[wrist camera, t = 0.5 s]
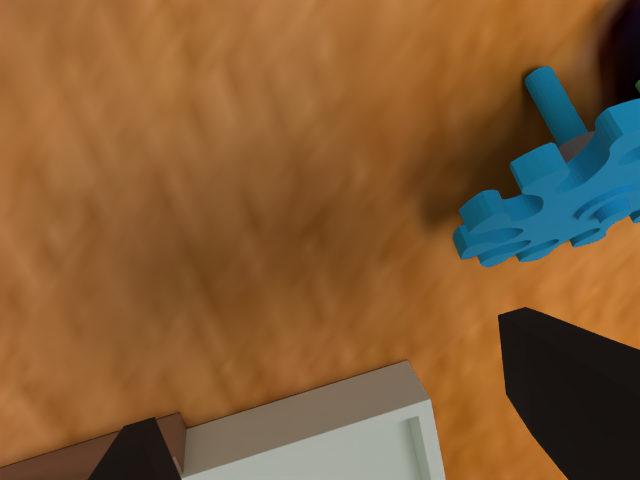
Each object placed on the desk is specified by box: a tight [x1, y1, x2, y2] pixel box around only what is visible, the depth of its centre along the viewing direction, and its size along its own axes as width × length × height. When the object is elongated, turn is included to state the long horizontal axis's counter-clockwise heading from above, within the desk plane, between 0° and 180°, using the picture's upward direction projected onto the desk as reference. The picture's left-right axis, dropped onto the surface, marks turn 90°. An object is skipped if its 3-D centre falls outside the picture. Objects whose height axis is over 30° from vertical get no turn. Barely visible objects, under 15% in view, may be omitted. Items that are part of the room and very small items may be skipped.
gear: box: [453, 66, 640, 267], centre depth 18 cm, size 11×6×10 cm
